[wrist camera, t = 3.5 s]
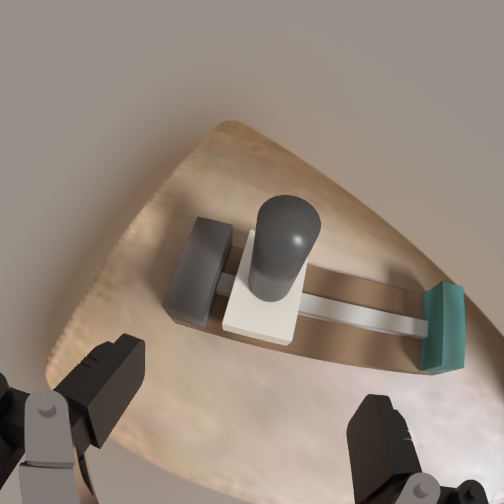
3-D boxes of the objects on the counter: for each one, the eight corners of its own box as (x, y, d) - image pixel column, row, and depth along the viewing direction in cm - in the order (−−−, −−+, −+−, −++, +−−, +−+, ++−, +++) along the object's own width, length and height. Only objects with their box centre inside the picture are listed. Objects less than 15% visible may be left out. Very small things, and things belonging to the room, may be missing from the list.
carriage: (304, 255, 25) (341, 177, 16) (286, 345, 21) (328, 307, 12) (248, 241, 25) (259, 156, 16) (222, 329, 21) (216, 279, 12)
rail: (435, 304, 26) (463, 287, 22) (432, 375, 23) (463, 367, 18) (202, 246, 28) (197, 216, 23) (174, 322, 24) (162, 305, 20)
